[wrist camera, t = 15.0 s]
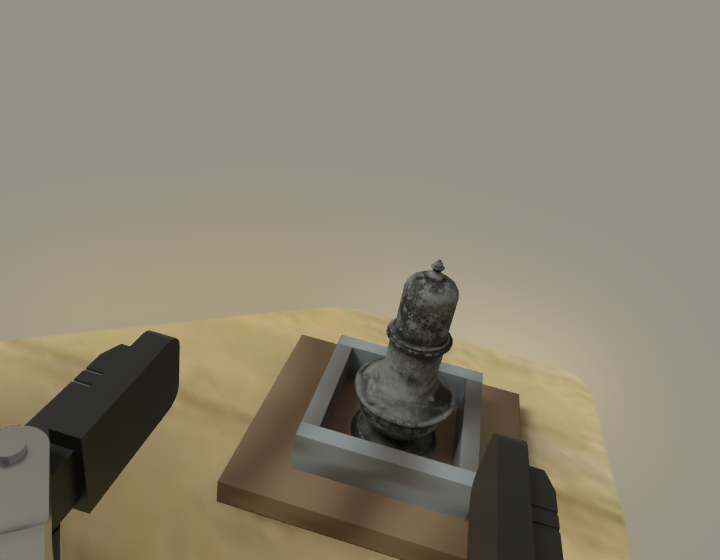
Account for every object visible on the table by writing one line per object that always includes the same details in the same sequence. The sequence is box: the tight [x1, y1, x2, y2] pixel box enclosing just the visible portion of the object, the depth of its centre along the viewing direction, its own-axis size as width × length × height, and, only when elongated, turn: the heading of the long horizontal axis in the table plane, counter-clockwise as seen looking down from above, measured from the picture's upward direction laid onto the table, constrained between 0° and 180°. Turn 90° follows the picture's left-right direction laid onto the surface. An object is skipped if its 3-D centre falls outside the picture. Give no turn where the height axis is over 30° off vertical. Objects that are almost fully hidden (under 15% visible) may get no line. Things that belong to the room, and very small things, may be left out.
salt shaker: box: [350, 260, 459, 459], centre depth 30 cm, size 6×6×12 cm
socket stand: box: [217, 335, 521, 560], centre depth 33 cm, size 16×14×4 cm
